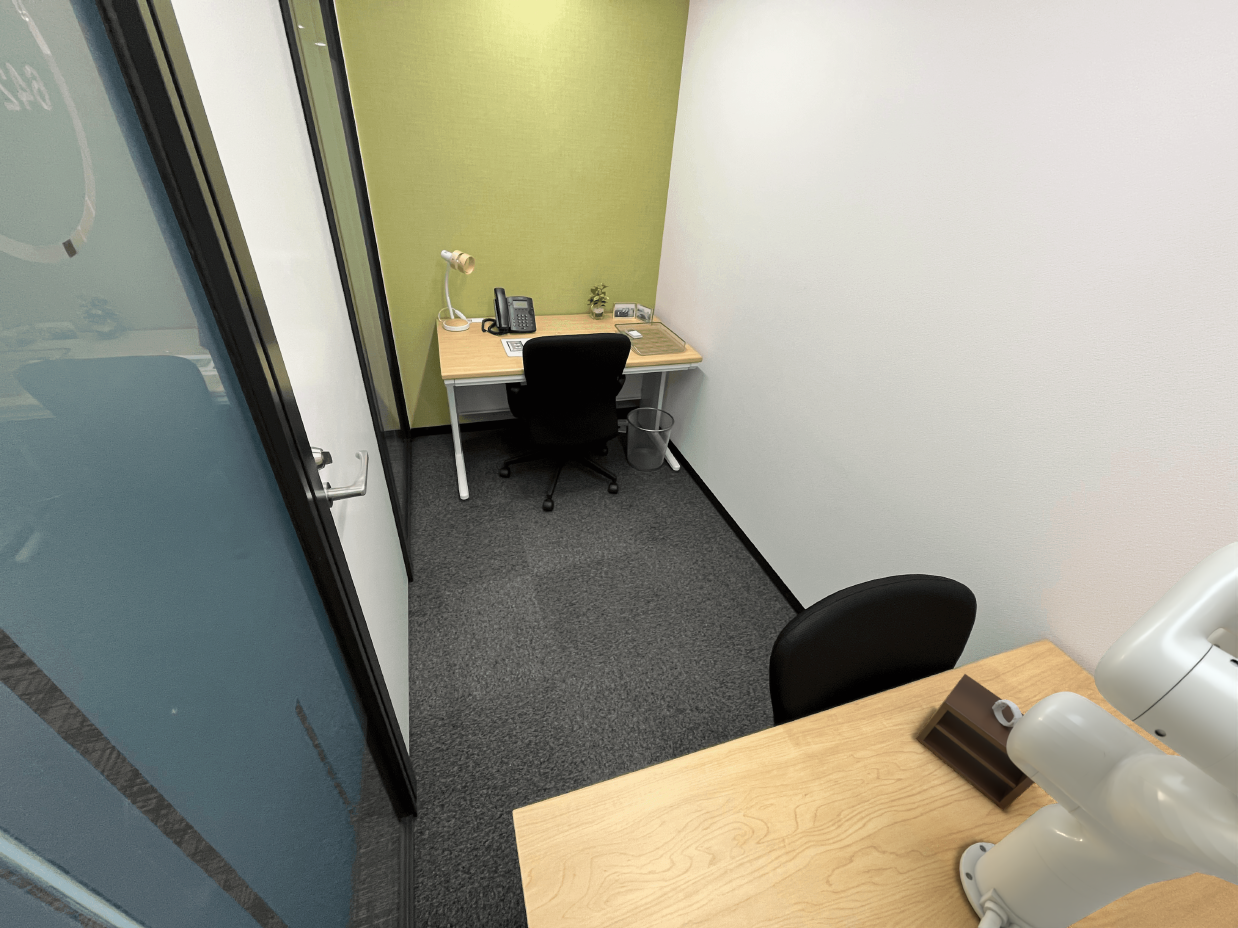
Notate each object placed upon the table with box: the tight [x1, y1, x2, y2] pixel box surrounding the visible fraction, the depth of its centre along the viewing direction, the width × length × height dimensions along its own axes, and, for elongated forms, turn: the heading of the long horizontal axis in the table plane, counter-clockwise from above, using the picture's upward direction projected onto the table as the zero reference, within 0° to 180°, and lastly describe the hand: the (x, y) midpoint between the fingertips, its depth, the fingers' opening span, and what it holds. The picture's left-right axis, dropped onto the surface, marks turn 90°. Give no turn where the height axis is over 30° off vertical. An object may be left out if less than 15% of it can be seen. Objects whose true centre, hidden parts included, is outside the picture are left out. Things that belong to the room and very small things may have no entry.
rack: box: [915, 673, 1036, 811], centre depth 83 cm, size 9×14×12 cm, turn 39°
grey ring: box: [992, 699, 1023, 727], centre depth 79 cm, size 4×2×4 cm, turn 8°
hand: (1214, 696), depth 68 cm, fingers open, 9 cm apart
